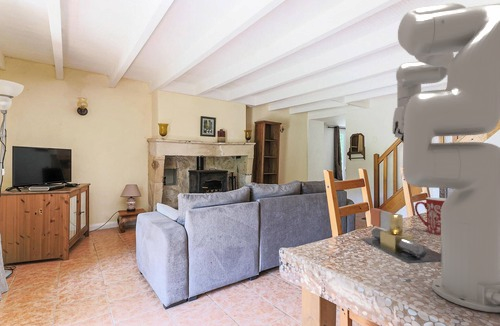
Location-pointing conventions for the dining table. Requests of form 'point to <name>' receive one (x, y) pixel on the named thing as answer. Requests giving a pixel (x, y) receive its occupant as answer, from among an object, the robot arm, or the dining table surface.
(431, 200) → the mug
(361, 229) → the dining table surface
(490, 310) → the robot arm
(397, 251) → the valve
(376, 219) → the lever
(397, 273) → the dining table surface
